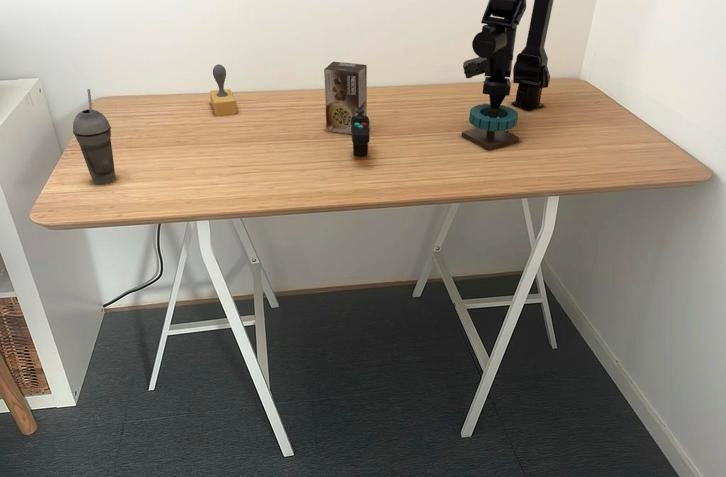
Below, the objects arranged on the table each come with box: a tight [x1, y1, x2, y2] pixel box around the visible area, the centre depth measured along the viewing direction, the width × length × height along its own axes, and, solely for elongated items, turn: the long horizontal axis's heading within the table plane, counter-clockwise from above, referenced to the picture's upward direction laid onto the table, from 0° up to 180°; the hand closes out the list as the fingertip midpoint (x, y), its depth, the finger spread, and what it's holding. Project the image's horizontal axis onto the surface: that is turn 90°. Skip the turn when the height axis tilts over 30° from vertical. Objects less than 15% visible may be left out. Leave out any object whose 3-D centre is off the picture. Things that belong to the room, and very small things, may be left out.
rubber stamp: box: [209, 63, 238, 116], centre depth 166 cm, size 10×6×12 cm, turn 18°
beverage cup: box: [72, 88, 116, 186], centre depth 127 cm, size 7×7×20 cm
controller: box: [350, 109, 371, 158], centre depth 141 cm, size 4×12×10 cm, turn 1°
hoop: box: [468, 103, 519, 131], centre depth 150 cm, size 11×11×2 cm
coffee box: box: [323, 61, 368, 135], centre depth 153 cm, size 9×6×16 cm
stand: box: [460, 108, 521, 151], centre depth 151 cm, size 10×10×8 cm
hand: (493, 111), depth 153 cm, fingers closed on hoop, 2 cm apart
